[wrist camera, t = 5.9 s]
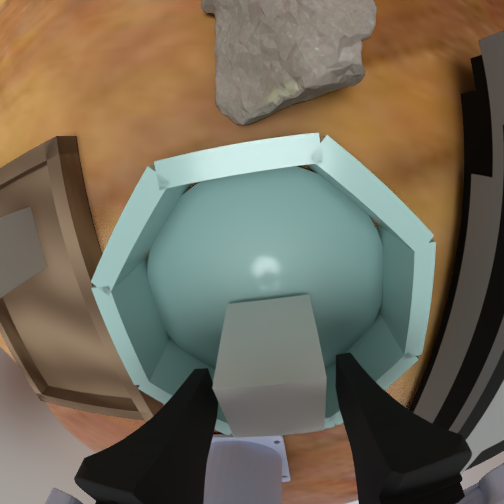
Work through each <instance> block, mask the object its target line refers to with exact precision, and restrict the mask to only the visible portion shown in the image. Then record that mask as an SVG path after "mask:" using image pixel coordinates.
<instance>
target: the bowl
mask: <svg viewBox="0 0 504 504" xmlns="http://www.w3.org/2000/svg"><path fill="white" fill-rule="evenodd" d="M300 165H307V166H308V167H309V168H311V169H312V170H313V171H315V172H316V173H315V172H312V171H309V170H307V169H304V168H301V167H297V166H300ZM200 181H201V182H200ZM195 182H199V183H198V184H196V185H194V186H193V187H192V188H191V189H189V188H190V187H191V185H192V184H193V183H195ZM371 219H372V220H373V221H374V222H375V223H376V224H377V229H376V227H375V225H374V223H373V222H372V220H371ZM433 236H434V235H433V234H432V233H431V231H430V230H429V229H428V228H427V227H426V226H425V225H424V224H423V223H422V222H421V221H420V220H419V218H418V217H417V216H416V215H415V214H414V213H413V212H412V211H411V210H410V209H409V208H408V207H407V206H406V205H405V204H404V203H403V202H402V201H401V200H400V199H399V198H398V197H397V196H396V195H395V194H394V193H393V192H392V191H391V190H390V189H389V188H388V187H387V186H386V185H384V184H383V183H382V182H381V181H380V180H379V179H378V178H377V177H376V176H375V175H374V174H373V173H371V172H370V171H369V170H368V169H367V168H366V167H365V166H364V165H363V164H361V163H360V162H359V161H358V160H357V159H356V158H354V157H353V156H352V155H351V154H350V153H349V152H347V151H346V150H345V149H344V148H343V147H341V146H340V145H339V144H338V143H336V142H335V141H334V140H333V139H331V138H330V137H329V136H328V135H325V136H322V137H319V133H309V134H300V135H292V136H284V137H276V138H269V139H263V140H256V141H250V142H244V143H238V144H232V145H227V146H222V147H216V148H211V149H207V150H202V151H197V152H192V153H188V154H184V155H179V156H175V157H171V158H167V159H163V160H159V161H155V162H154V166H148V167H147V168H146V170H145V172H144V174H143V175H142V177H141V179H140V181H139V183H138V184H137V186H136V188H135V190H134V192H133V193H132V195H131V197H130V199H129V201H128V203H127V205H126V207H125V209H124V211H123V213H122V214H121V216H120V218H119V220H118V222H117V225H116V227H115V229H114V231H113V233H112V235H111V237H110V239H109V241H108V243H107V246H106V248H105V250H104V252H103V254H102V257H101V259H100V261H99V264H98V266H97V268H96V271H95V273H94V276H93V278H92V280H91V283H93V284H94V286H93V287H91V289H92V292H93V295H94V297H95V300H96V303H97V305H98V308H99V310H100V313H101V315H102V318H103V320H104V322H105V325H106V327H107V330H108V332H109V334H110V336H111V339H112V341H113V343H114V345H115V347H116V350H117V352H118V354H119V356H120V358H121V360H122V362H123V364H124V366H125V368H126V370H127V372H128V374H129V376H130V378H131V380H132V382H133V384H134V385H139V387H138V389H139V390H141V391H143V392H144V393H146V394H148V395H149V396H151V397H153V398H154V399H156V400H158V401H160V402H161V403H163V404H166V403H167V402H168V401H169V399H170V398H171V397H172V396H173V395H174V394H175V392H176V391H177V390H178V389H179V388H180V386H181V385H182V384H183V383H184V381H185V380H186V379H187V378H188V376H189V375H190V374H191V373H192V372H193V370H194V369H200V368H208V370H209V373H210V376H211V379H212V382H213V380H214V375H215V369H216V363H217V357H218V352H219V346H220V340H221V334H222V329H223V323H224V318H225V312H226V307H227V304H231V303H241V302H250V301H259V300H268V299H277V298H285V297H293V296H301V295H308V294H309V296H310V301H311V305H312V310H313V314H314V319H315V323H316V328H317V332H318V337H319V342H320V347H321V352H322V356H323V361H324V366H325V372H326V377H327V386H326V407H325V424H324V429H326V428H332V427H335V424H337V425H340V424H342V423H343V419H342V415H341V412H340V409H339V404H338V399H337V393H336V388H335V384H336V355H338V354H343V353H349V352H350V353H351V354H352V355H353V356H354V358H355V359H356V360H357V361H358V363H359V364H360V365H361V366H362V368H363V369H364V370H365V371H366V372H367V373H368V374H369V375H370V377H371V378H372V379H373V380H374V381H375V382H376V383H377V384H378V385H379V386H380V387H381V388H382V389H383V390H386V389H387V388H388V387H389V386H390V385H392V384H393V383H394V382H395V381H396V380H397V379H398V378H399V377H401V376H402V375H403V374H404V373H405V372H406V371H407V370H408V369H409V368H410V367H411V366H413V365H414V364H415V363H416V362H417V361H418V360H419V358H418V355H422V352H423V347H424V342H425V336H426V331H427V325H428V319H429V312H430V305H431V297H432V288H433V279H434V267H435V251H436V241H434V240H432V238H433ZM148 256H149V257H148ZM214 430H217V431H219V432H221V433H223V434H226V435H230V434H231V433H232V431H231V428H230V426H229V424H228V422H227V420H226V418H225V416H224V413H223V411H222V409H221V407H220V405H219V402H218V412H217V420H216V424H215V429H214ZM232 435H233V433H232ZM233 436H234V435H233Z"/></svg>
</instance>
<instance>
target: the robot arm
mask: <svg viewBox="0 0 504 504" xmlns="http://www.w3.org/2000/svg"><path fill="white" fill-rule="evenodd" d="M212 386H213V382H212V379H211V376H210V373H209V370H208V368H200V369H194V370H193V372H192V373H191V374H190V375H189V376H188V378H187V379H186V380H185V381H184V383H183V384H182V385H181V386H180V388H179V389H178V390H177V391H176V392H175V394H174V395H173V396H172V397H171V398H170V399H169V401H168V402H167V403H166V404H165V405H164V406H163V407H162V408H161V409H160V410H159V411H158V412H157V413H156V414H155V415H154V416H153V417H152V418H151V419H150V420H149V421H147V422H146V423H145V424H144V425H143V426H141V427H140V428H139V429H137V430H136V431H135V432H133V433H132V434H130V435H129V436H127V437H126V438H125V439H123V440H121V441H120V442H118V443H116V444H114V445H113V446H111V447H109V448H107V449H105V450H103V451H100V452H98V453H96V454H93V455H91V456H88V457H86V458H84V460H83V462H82V464H81V466H80V468H79V470H78V472H77V474H76V476H75V478H74V480H75V482H76V484H77V485H78V486H79V487H80V488H81V489H82V490H84V491H85V492H86V493H87V494H88V495H90V496H91V497H92V498H93V499H95V500H96V503H95V504H282V482H288V481H290V480H291V479H290V472H289V466H288V461H287V455H286V449H285V444H284V438H283V435H279V436H264V437H234V436H233V435H232V434H230V435H226V434H213V433H214V429H215V424H216V420H217V412H218V400H217V398H216V395H215V393H214V391H213V389H212ZM335 388H336V393H337V399H338V404H339V409H340V412H341V415H342V419H343V422H344V425H345V429H346V432H347V435H348V439H349V442H350V446H351V450H352V454H353V461H354V467H355V474H356V482H357V490H358V500H359V504H504V463H503V464H501V465H500V466H498V467H496V468H495V469H493V470H491V471H490V472H489V473H487V474H486V475H485V476H484V477H483V478H482V479H481V480H480V481H479V482H478V483H477V484H475V485H473V486H471V487H469V488H467V489H465V490H463V489H462V486H461V484H460V482H461V481H462V476H461V474H460V472H461V471H462V470H463V468H464V467H465V466H466V465H467V463H468V462H469V460H470V459H471V457H472V451H471V449H470V447H469V445H468V443H467V442H466V440H465V439H464V438H463V436H462V435H461V434H458V433H455V432H452V431H449V430H446V429H444V428H441V427H439V426H437V425H435V424H432V423H430V422H429V421H427V420H425V419H423V418H421V417H420V416H418V415H416V414H414V413H413V412H411V411H410V410H408V409H407V408H405V407H404V406H403V405H401V404H400V403H399V402H397V401H396V400H395V399H394V398H392V397H391V396H390V395H389V394H388V393H387V392H386V391H385V390H383V389H382V388H381V387H380V386H379V385H378V384H377V383H376V382H375V381H374V380H373V379H372V378H371V377H370V375H369V374H368V373H367V372H366V371H365V370H364V369H363V368H362V366H361V365H360V364H359V363H358V361H357V360H356V359H355V358H354V356H353V355H352V354H351V353H350V352H349V353H343V354H338V355H336V384H335ZM45 504H83V503H82V502H80V501H79V500H78V499H76V498H75V497H73V496H71V495H69V494H67V493H65V492H63V491H60V490H58V489H56V488H53V489H52V491H51V493H50V495H49V497H48V499H47V501H46V503H45Z"/></svg>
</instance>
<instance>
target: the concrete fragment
mask: <svg viewBox="0 0 504 504" xmlns="http://www.w3.org/2000/svg"><path fill="white" fill-rule="evenodd" d="M201 9H202V10H203V11H205V12H206V13H213V14H214V15H215V19H216V23H215V30H216V33H215V56H216V73H215V82H216V94H215V100H216V105H217V106H218V108H219V109H220V111H221V113H222V114H224V115H227V116H228V117H229V118H230V119H231V120H232V121H233V122H235V123H236V124H242V125H249V124H251V123H253V122H256V121H258V120H261V119H264V118H267V117H268V116H269V115H271V114H273V113H274V112H276V111H278V110H280V109H284V108H287V107H289V106H291V105H292V104H294V103H300V102H302V101H308V100H311V99H313V98H317V97H319V96H321V95H323V94H325V93H328V92H332V91H336V90H339V89H341V88H344V87H348V86H355V85H356V84H358V83H359V82H360V81H361V80H362V79H363V77H364V76H365V70H364V68H363V65H362V60H361V51H362V46H363V45H362V42H361V40H366V39H368V38H370V36H371V34H372V31H373V29H374V27H375V25H376V16H375V15H376V11H377V9H376V5H375V2H374V0H201Z"/></svg>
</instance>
